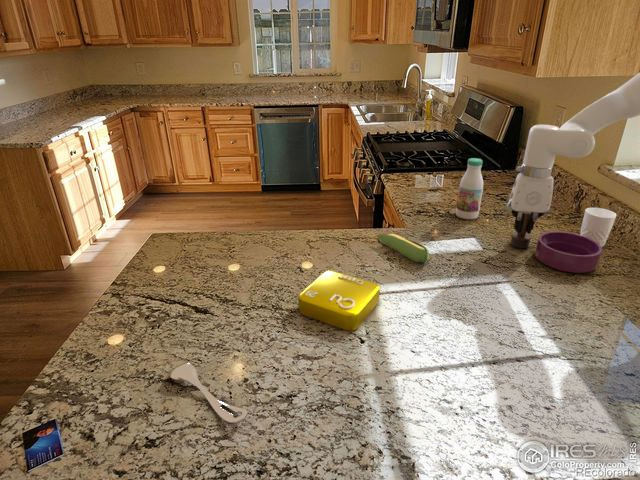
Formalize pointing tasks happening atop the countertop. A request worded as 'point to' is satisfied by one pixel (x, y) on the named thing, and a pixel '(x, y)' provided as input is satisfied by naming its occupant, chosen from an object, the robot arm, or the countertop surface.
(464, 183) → the milk bottle
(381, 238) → the edible corn
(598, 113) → the robot arm
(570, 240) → the bowl
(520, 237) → the dish brush
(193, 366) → the white kitchen utensil
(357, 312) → the element tile
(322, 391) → the countertop surface
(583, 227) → the white cup
